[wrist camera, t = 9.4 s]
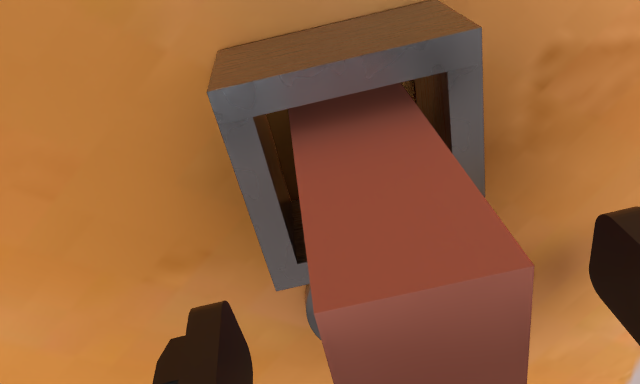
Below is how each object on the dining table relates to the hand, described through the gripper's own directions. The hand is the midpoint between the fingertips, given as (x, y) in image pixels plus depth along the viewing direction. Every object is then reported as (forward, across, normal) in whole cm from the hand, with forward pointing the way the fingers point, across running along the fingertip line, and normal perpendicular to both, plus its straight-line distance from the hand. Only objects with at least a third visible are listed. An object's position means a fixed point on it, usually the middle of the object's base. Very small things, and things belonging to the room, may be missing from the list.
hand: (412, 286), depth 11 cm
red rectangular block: (+9, 0, 0) cm, 9 cm away
